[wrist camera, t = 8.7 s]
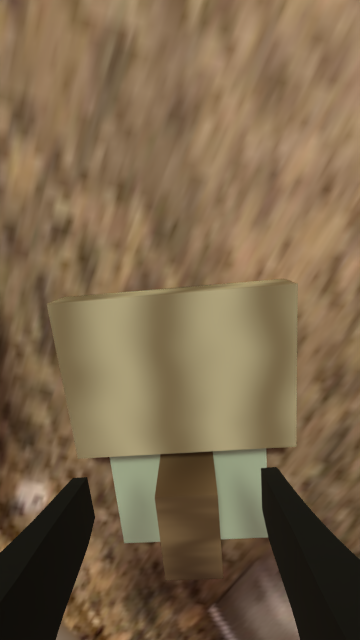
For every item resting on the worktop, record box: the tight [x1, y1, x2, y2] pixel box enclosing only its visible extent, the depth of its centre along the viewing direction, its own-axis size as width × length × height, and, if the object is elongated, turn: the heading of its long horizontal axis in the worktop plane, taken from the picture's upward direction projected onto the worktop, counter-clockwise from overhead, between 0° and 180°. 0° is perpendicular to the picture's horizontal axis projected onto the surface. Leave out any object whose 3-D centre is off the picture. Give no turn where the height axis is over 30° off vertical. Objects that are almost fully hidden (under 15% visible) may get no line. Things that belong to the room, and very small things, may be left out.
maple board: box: [47, 279, 298, 459], centre depth 20 cm, size 15×11×2 cm
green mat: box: [110, 448, 268, 543], centre depth 24 cm, size 12×10×1 cm
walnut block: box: [155, 451, 223, 581], centre depth 21 cm, size 4×4×7 cm
